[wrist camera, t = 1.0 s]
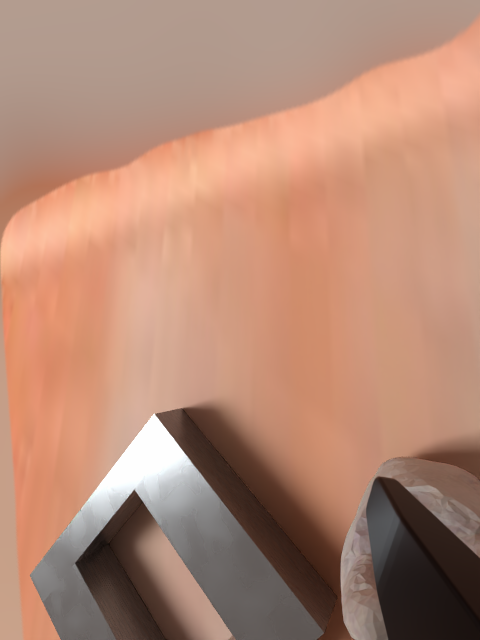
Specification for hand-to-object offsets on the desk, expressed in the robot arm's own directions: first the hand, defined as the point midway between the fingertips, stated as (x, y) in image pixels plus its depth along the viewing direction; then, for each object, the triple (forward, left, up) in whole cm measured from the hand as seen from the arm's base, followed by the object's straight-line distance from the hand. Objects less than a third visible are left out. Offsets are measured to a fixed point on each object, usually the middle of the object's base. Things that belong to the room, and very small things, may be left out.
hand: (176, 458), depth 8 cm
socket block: (-1, +13, -11) cm, 17 cm away
